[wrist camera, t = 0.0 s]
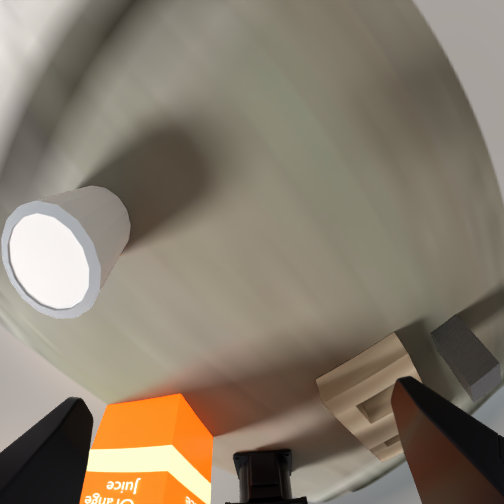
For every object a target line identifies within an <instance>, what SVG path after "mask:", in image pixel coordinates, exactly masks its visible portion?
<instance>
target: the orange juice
mask: <svg viewBox="0 0 504 504" xmlns="http://www.w3.org/2000/svg"><path fill="white" fill-rule="evenodd" d="M212 448H213V437H212V435H211V434H210V433H209V431H208V430H207V429H206V427H205V426H204V425H203V424H202V422H201V421H200V420H199V418H198V417H197V416H196V414H195V413H194V411H193V410H192V409H191V407H190V406H189V405H188V403H187V402H186V400H185V399H184V398H183V396H182V395H181V393H180V394H175V395H170V396H164V397H158V398H153V399H146V400H140V401H134V402H127V403H119V404H112V405H107V407H106V410H105V413H104V415H103V418H102V421H101V423H100V426H99V429H98V431H97V434H96V437H95V440H94V443H93V445H92V448H91V450H90V452H89V459H88V465H87V470H86V475H85V480H84V484H83V489H82V494H81V499H80V504H210V497H211V466H212Z"/></svg>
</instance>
